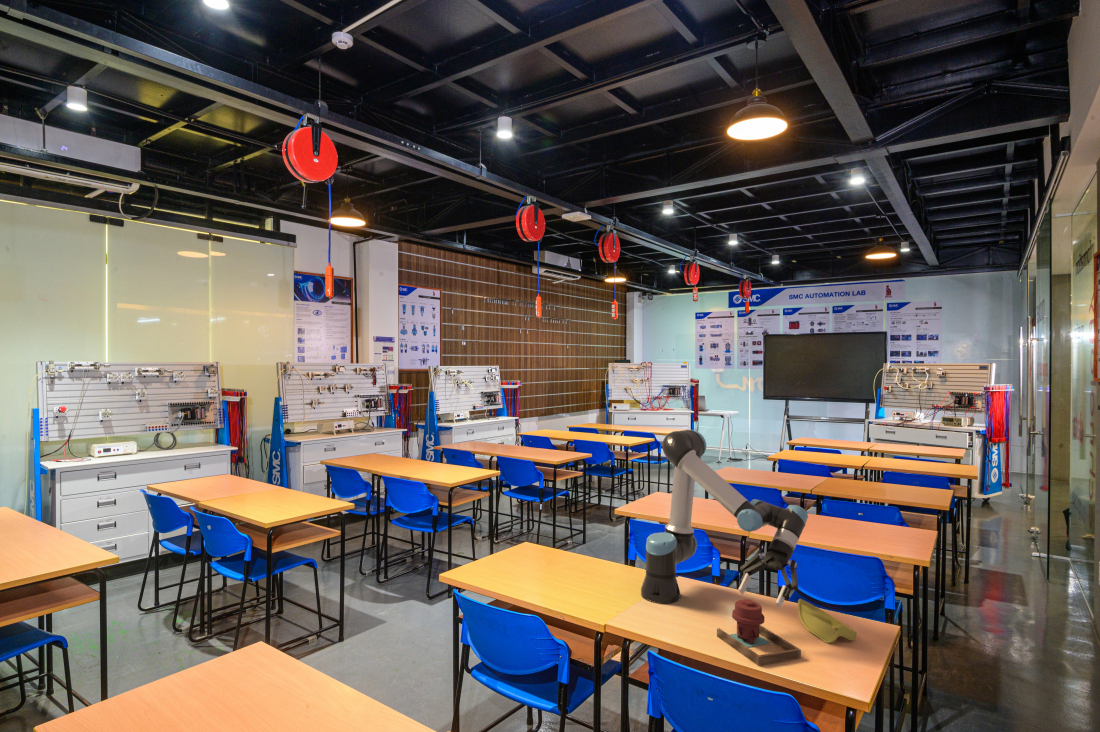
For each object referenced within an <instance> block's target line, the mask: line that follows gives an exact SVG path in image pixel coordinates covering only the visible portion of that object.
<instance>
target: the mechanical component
mask: <svg viewBox="0 0 1100 732" xmlns="http://www.w3.org/2000/svg"><path fill="white" fill-rule="evenodd" d="M731 617H732V619H733V620H735V621H736V633H737V637H738V638H740V639H743V640H745V641H747V642H749V643H750V644H754V639H757V638H759V635H760V634H759V625H761V626H762V625H763V624H764V623H765V619H766V618H765V615H764V614H763V607H762V605H761V604H760V603H758V602H757V601H754V600H752V599H749V598H747V599H746V598H744V599H738V600H736V601H735V602H734V609H733V610H732V612H731Z"/></svg>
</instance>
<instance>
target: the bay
mask: <svg viewBox="0 0 1100 732" xmlns="http://www.w3.org/2000/svg"><path fill="white" fill-rule="evenodd" d="M716 637H717V638H719V639H720V640H722V641H723V642H724V643H726V644H727V645H728V646H730V647H731V648H732V649H734V650H735V651H737V652H738V653H739V654H741V655H742V656H744V657H745V658H747V659H748V660H749V661H751V662H752V663H754V664H755V665H757V666H758V667H760V666H765V665H770V664H777V663H782V662H786V661H792V660H797V659H801V658H802V649H801V648H799V647H797V646H795V645H793V643H790V642H789V641H788V640H786V639H785V638H782V637H781V636H779V635H778V634H776V633H774V632H773V631H771V630H769V629H767V628H766V627H765V626H763V625H762V624H761V625H759V638H757V639H754V644H750V643H749V642H747V641H745V640H743V639H740V638H738V637H737V632H736V633H730V634H729V633H727V632H726V631H724V630H723V629H721V628H720V627H719V628H717V629H716ZM772 643H773V644H775V645H776V646H778V647H780V648H781V649H783V650H781V651H780V650H779V651H777V652H776V651H775V652H770V653H764V654H757V652H755V651H754V650H752V649H750V648H753V647H759V646H764V645H770V644H772Z"/></svg>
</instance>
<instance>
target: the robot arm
mask: <svg viewBox="0 0 1100 732" xmlns="http://www.w3.org/2000/svg"><path fill="white" fill-rule="evenodd" d="M661 446H662V451H663V454H664V456H665V457H666V458H667V460H668V461H669V463H671V464H672V465H673V466H674V469H673V470H674V471H673V480H672V491H671V501H670V503H671V504H670V511H669V512H670V513H669V514H670V515H669V522H668V523H667V524H665V525H664V532H663V531H662V532H654V533H651V534H649V536H648V537H647V538H646V543H645V576H644V579H643V581H642V584H641V588H640V595H641V598H643V599H645V600H647V599H649V600H651V601H650V602H652V601H655V602H654V603H657V602H659V603H658V604H674V603H676V602H679V601H680V599H681V590H680V587H679V582H678V580H677V565H678V564H681V563H683V562H685V561H688V560H689V559H690V558H692V557H693V556H694V555H695V553H696V551H697V548H698V542H697V538H696V537H695V533H694V532H695V530H694V528H693V527H692V525H691V523H692V515H693V504H694V494H695V493H694V491H695V482H696V483H697V484H698V485H699V486H701V488H703V489H704V491H706V492H707V493H708V494H709V495H710V496H711V497H713V499H715V500H716V501H717V502H718V503H719V504H720V505H721V506H722V507H723V508H725V509H726V510H727V511H728V512H729V513H730V515H732V516H733V517H734V518H736V523H737V524H738V527H739V528H740V529H741V530H743V531H745V532H756V531H758V530H759V529H761V528H763V527H765V526H767V525H768V526H770V527H773V528H776V532H775V533H774V535H773V537H772V540H771V542H770V544H769V546H768V550H767V552H766V553H764V552H762V551H761V550H759V549H758V550H757V551H756V554H755V555H753V556H752V557H751V558H750V559H749V560H748V561H746V562H745V563H744V564H742V565H741V566H740V568H739V570H740V571H741V572H742V576H741V578H740V584H739V587H738V589H737V590H738V592H740V594H742V595H745V594H744V593H745V591H746V589H747V587H748V585H749V583H750V581H751V579H752V578H751V576H753V575H754V574H757V573H758V572H760V571H762V570H764V569H768V568H769V569H771V570H774V571H778V572H779V571H780V574H781V575H782V578H783V581H784V583H785V585H784V584H782V587H781V589H780V592H779V594H778V597H777V599H776V601H775V604H776V605H777V607H779V608H780V609H781V608H782V606H783V604H784V602H785V599H788V598H789V596H790V593H791V591H798V590H799V583H798V573H797V568H798V564H797V561H796V560H795V559H791V558H792V555H793V554H794V551H795V549H796V546H797V543H798V542H799V539H800V537H801V534H802V533H803V531H804V529H805V527H806V523H807V520H808V518H809V515H808V512H807V511H806V510H805V509H804V508H803V507H801V506H799V505H797V504H790V505H788V506H787V507H786V508H784V507H779V506H777V505H774V504H772V503H769V502H766V501H764V500H760V499H757V498H754V499H752V500H751V501H750V500H748V499H747V498H745V496H744V495H742V494H741V493H740V491H738V490H737V489H736V488H734V486H732V485H731V484H730V483H729V482H727V481H726V480H725V479H724V478H723V477H721V475H719V474H718V473H717V472H716V471H715V470H713V468H712V467H710V466H709V465H708V464H706V462H705V461H704V460H703V459H702V456H703V455H704V454H705V453H706V451H707V441H706V439H705V436H704V435H702V434H701V433H700V432H699V431H697V430H694V429H683V430H675V431H674V430H673V431H672V432H669V433H667V435H666V436H664V439H663V440H662V444H661ZM787 566H789V570H790V578H791V581H790V579H789V577H788V574H787V572H786V571H787V570H786V567H787ZM649 600H648V601H649Z"/></svg>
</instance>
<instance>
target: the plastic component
mask: <svg viewBox="0 0 1100 732" xmlns="http://www.w3.org/2000/svg"><path fill="white" fill-rule="evenodd" d="M797 612H798V617H799V620H800V622H801V623H802V625H803V626H804V628H805V629H807V630H808V631H809V632H810V633H812V634H813V635H815V637H816V638H819V639H820V640H821V641H823V642H824V643H826V644H833V643H834V642H835V641H836V640H837V639H838V638H839V637H842V638H845V639H846V640H849V641H851V642H854V641H855V639H856V638H857V636H858V632H857V631H856V630H854V629H853V628H851V627H850V626H849V625H847V624H844V623H843V622H842V621H839V619H837V618H835V617H834V616H832V615H830V613H827V612H825V611H824V610H823V609H821V608H819V607H817V606H815V605H814V604H812V603H810V602H809V601H806V600H804V599H802V598H799V599H798V600H797Z"/></svg>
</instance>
